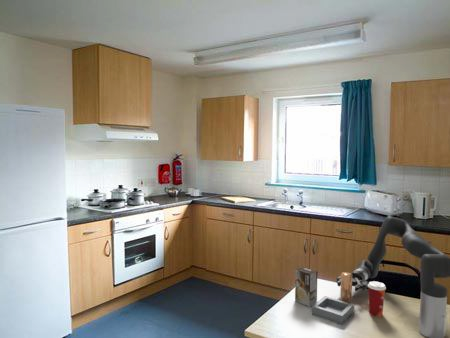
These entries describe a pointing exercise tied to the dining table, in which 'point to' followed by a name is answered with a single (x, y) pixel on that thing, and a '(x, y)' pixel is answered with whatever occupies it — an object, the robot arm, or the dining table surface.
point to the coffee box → (306, 286)
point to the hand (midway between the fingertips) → (347, 286)
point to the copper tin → (346, 287)
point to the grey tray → (333, 310)
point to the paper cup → (376, 298)
